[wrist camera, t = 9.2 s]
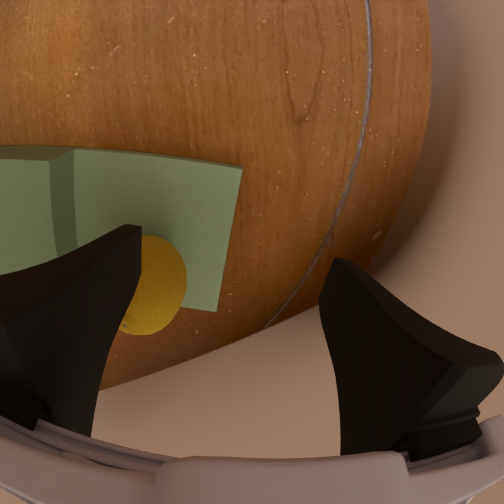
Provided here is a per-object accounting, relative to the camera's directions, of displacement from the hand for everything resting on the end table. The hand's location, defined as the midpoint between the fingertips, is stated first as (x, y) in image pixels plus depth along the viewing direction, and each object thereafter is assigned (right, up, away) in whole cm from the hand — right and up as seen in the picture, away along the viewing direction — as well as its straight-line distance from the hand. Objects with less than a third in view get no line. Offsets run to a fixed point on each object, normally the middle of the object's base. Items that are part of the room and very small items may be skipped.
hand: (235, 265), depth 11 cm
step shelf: (-21, +4, +9) cm, 23 cm away
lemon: (-6, +1, +11) cm, 12 cm away
